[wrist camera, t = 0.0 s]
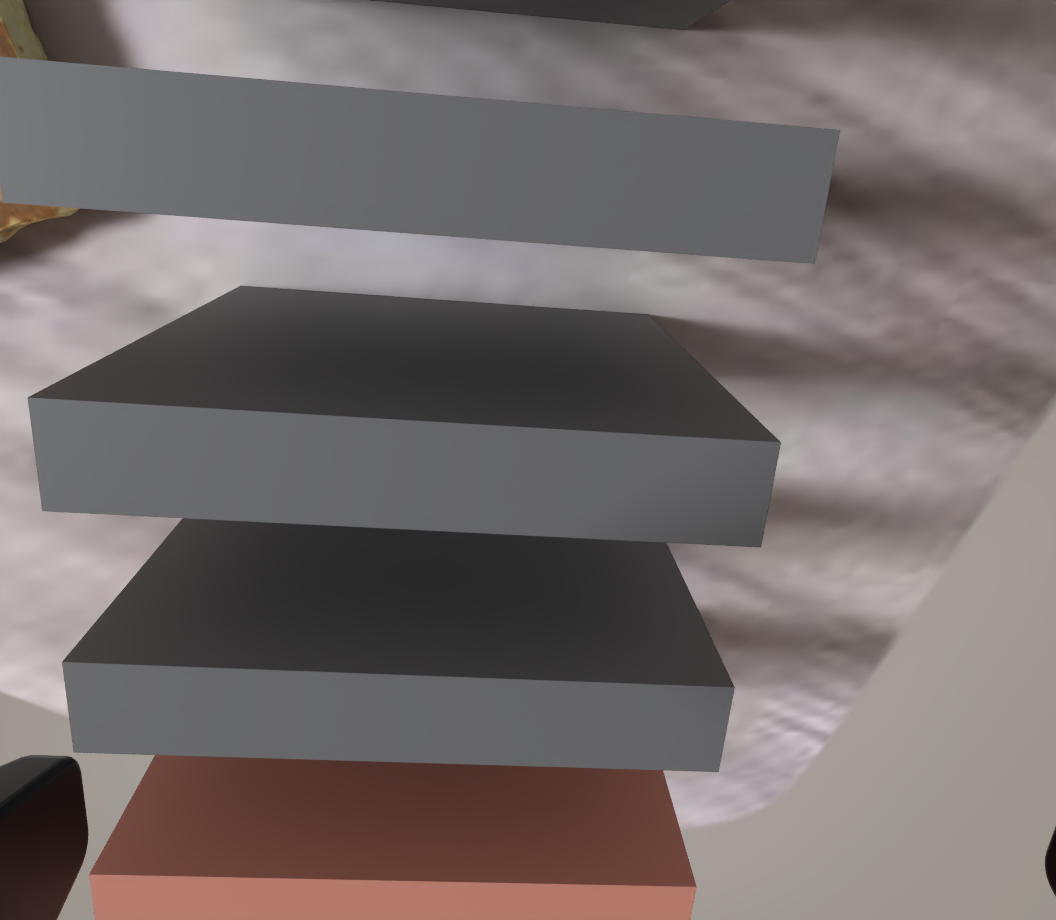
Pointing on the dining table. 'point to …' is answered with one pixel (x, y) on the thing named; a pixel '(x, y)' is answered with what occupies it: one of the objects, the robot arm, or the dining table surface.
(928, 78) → the dining table surface
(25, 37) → the shard
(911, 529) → the dining table surface
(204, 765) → the domino
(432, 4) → the domino
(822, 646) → the dining table surface
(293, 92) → the domino
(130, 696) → the domino
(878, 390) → the dining table surface
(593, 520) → the domino
